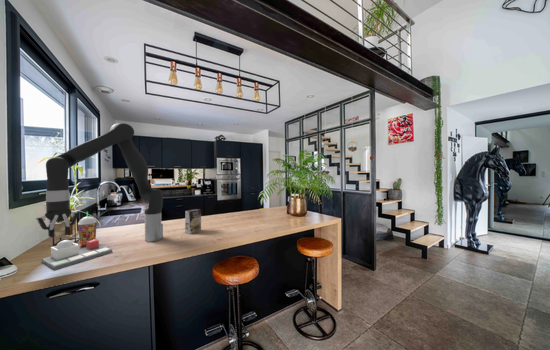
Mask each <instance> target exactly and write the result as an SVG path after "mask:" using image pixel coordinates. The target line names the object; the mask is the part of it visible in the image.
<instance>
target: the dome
mask: <svg viewBox="0 0 550 350" xmlns="http://www.w3.org/2000/svg"><path fill="white" fill-rule="evenodd" d="M73 243H74V242H73V241H72V240H70V239H63V240H60V241H59V242H58V243H57V244H56V245H55V246H56V249H62V248H66V247H70V246H73Z"/></svg>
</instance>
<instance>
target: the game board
mask: <svg viewBox="0 0 550 350" xmlns="http://www.w3.org/2000/svg"><path fill="white" fill-rule="evenodd" d="M79 245H80V244H78V243H76V242H73V246H70V247H66V248H62V249H56V246H57V245H55V246H51V247H50V256H48V257H44V258H41V262H42V264H43V265H46V266H48V267H49V268H50V269H51V270H54V271H55V270H58V269H62V268H65V267H68V266H72V265H75V264H77V263H78V264H79V263H81V262H85V261H88V260H91V259H94V257H95V258H98V257H100V256H104V255H108V254H110V253H113V249H112V248H109V247H108V246H104V245H101V244H100V242H99V239H94V240H90V241H86V246H84V247H81V248H80V246H79ZM97 256H98V257H97Z"/></svg>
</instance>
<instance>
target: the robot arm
mask: <svg viewBox="0 0 550 350" xmlns="http://www.w3.org/2000/svg"><path fill="white" fill-rule="evenodd" d="M134 135H135V129H134V128H133V126H131V125H130V124H128V123H123V122H119V123H118V122H117V123H114V124H113V125H111V127H110V131H108V132H106V133H103V134H102V135H100V136H98V137H95V138H92V139H90V140H88V141H85V142H81V143H80V144H77V145H76V146H73V147H72V148H70V149H68V150H67V151H65V152H63V153H61V154H58V155H56V156H54V157H51V158H49V159H47V161H46V162H45V171H46V194H45V209H46V212H45V214H44V215H41V216H38V217H36V218H35V220H36V221H37V223H38V224H39V226H40V228H41V229H42V230H45V231H47V236H48V237H49V238H51V239H54V230H53V228H54V225H55V223H59V222H61V223H62V222H63V223H65V236H67V235H69V234H70V227H71V226H74V225H75V224H76V221H77V219H78V217H79V214H80V213H79V212H77V211H72V210H71V195H70V187H69V185H70V184H69V168H71V167H73V166H74V165H75V166H76V164H78V163H80V162H83V161H85V160H87V159H89V158H91V157H93V156H95V155H97V154H98V153H100V152H102V151H103V150H105V149H107V148H110V147H112V146H114V145H117V146H118V147H119V149H120V151H121V154H122V156H123V158H124V160H125V163H126V165H127V167H128V169H129V171H130V173H131V175H132V177H133V180H134V181H135V183H136V185H137V186H136V187H137V188H138V192H139V194H140V198H141V200H142V201H144V202H145V203H148V207H147V208H146V209H144V242H148V243H149V242H151V243H152V242H156V241H160V240H162V239H163V238H164V224H163V222H162V209H163V205H164V204H163V203H164V200H163V199H164V195H163V191H162V189H160V188H153V187H152V186H151V184H150V182H149V167H148V165H147V162H146V160H145V158H144V157H143V155H142V153H141V152H140V151H139V150H138V148H137V147H136V146H135V144H134V141H133V139H132V138H133V137H134ZM70 216H71V219H70V221H69V219H68V218H69V217H70ZM46 218H47V220H48V221H49V222H48V226H47V224H46V223H45V220H46Z"/></svg>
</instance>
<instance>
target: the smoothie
mask: <svg viewBox="0 0 550 350" xmlns="http://www.w3.org/2000/svg"><path fill="white" fill-rule="evenodd" d="M97 222H98V221H97V220H96V218H94V217H93V216H90V215H89V211H86V216H84V217H82V218H81V219H79V221H78V223H77V228H78V237H79V239H78V240H79V245H81V247H86V241H90V240H94V239H96V237H97Z"/></svg>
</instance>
